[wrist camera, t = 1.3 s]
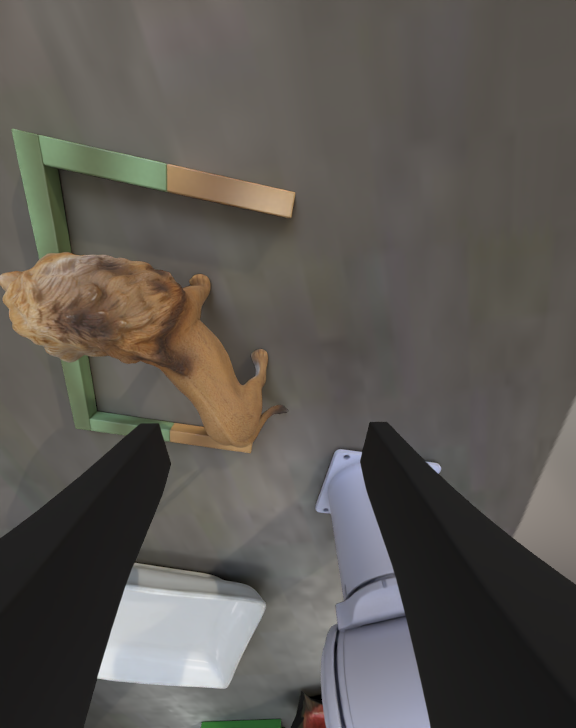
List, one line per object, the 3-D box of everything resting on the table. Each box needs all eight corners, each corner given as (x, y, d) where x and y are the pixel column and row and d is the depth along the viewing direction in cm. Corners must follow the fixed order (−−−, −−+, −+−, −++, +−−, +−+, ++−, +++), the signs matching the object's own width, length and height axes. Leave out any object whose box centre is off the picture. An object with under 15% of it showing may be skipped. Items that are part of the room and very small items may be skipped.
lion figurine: (104, 280, 17) (-66, 329, 9) (157, 218, 15) (10, 206, 7) (264, 423, 22) (249, 537, 14) (316, 387, 20) (334, 491, 12)
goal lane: (295, 194, 15) (295, 192, 14) (252, 444, 23) (250, 453, 22) (28, 134, 14) (10, 128, 13) (83, 420, 22) (75, 428, 21)
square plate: (271, 566, 31) (268, 608, 28) (231, 656, 43) (226, 694, 40) (19, 528, 28) (-19, 570, 25) (51, 637, 40) (29, 675, 37)
